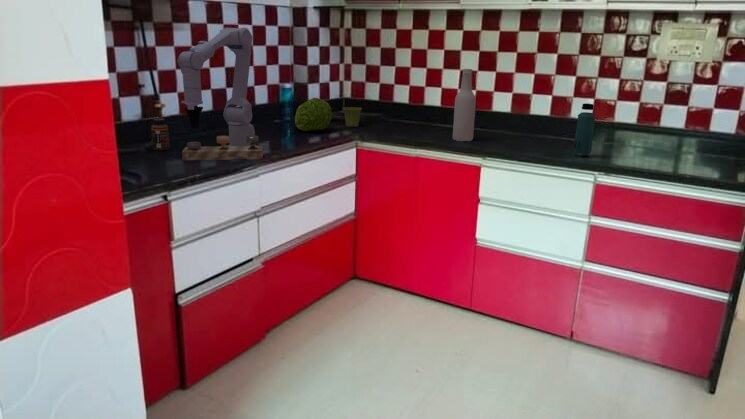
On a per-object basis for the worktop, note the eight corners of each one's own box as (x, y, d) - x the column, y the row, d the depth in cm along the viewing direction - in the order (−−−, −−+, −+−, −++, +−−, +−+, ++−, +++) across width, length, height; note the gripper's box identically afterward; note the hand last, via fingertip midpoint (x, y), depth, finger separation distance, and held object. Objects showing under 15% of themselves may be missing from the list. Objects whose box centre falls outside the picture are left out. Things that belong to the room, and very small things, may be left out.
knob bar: (182, 160, 193) (182, 151, 192) (186, 155, 201) (185, 146, 200) (262, 159, 197) (262, 150, 196) (263, 154, 206) (262, 146, 205)
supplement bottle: (162, 151, 206) (159, 120, 203) (149, 150, 208) (146, 119, 205) (173, 148, 211) (170, 118, 208) (160, 147, 214) (158, 117, 210)
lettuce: (288, 135, 267) (320, 137, 273) (301, 127, 244) (336, 129, 250) (288, 104, 267) (320, 106, 273) (301, 93, 244) (336, 95, 250)
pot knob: (216, 149, 196) (216, 137, 195) (217, 146, 200) (217, 135, 199) (229, 149, 196) (229, 137, 195) (230, 146, 201) (229, 135, 199)
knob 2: (246, 148, 197) (245, 137, 196) (246, 146, 202) (246, 135, 200) (258, 148, 198) (258, 137, 197) (259, 146, 202) (258, 135, 201)
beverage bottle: (593, 156, 215) (600, 103, 210) (586, 158, 211) (593, 105, 205) (576, 153, 220) (583, 102, 214) (569, 156, 215) (576, 103, 209)
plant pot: (338, 125, 274) (338, 108, 272) (351, 124, 281) (351, 106, 279) (352, 128, 268) (353, 109, 266) (365, 126, 275) (366, 108, 273)
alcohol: (449, 140, 242) (454, 68, 233) (456, 137, 250) (460, 68, 241) (469, 142, 238) (474, 69, 229) (475, 139, 246) (480, 69, 237)
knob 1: (187, 155, 195) (186, 144, 194) (189, 153, 199) (188, 141, 198) (200, 155, 195) (199, 144, 194) (202, 152, 200) (201, 141, 198)
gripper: (183, 86, 197) (186, 124, 201) (176, 90, 183) (180, 131, 187) (204, 86, 198) (206, 124, 202) (199, 90, 184) (201, 131, 188)
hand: (195, 128), depth 195 cm, fingers closed
